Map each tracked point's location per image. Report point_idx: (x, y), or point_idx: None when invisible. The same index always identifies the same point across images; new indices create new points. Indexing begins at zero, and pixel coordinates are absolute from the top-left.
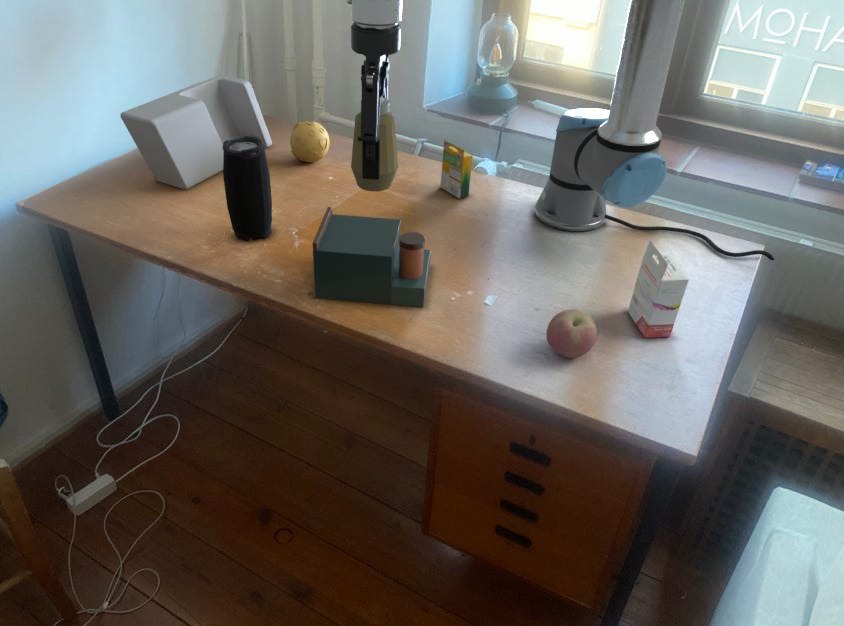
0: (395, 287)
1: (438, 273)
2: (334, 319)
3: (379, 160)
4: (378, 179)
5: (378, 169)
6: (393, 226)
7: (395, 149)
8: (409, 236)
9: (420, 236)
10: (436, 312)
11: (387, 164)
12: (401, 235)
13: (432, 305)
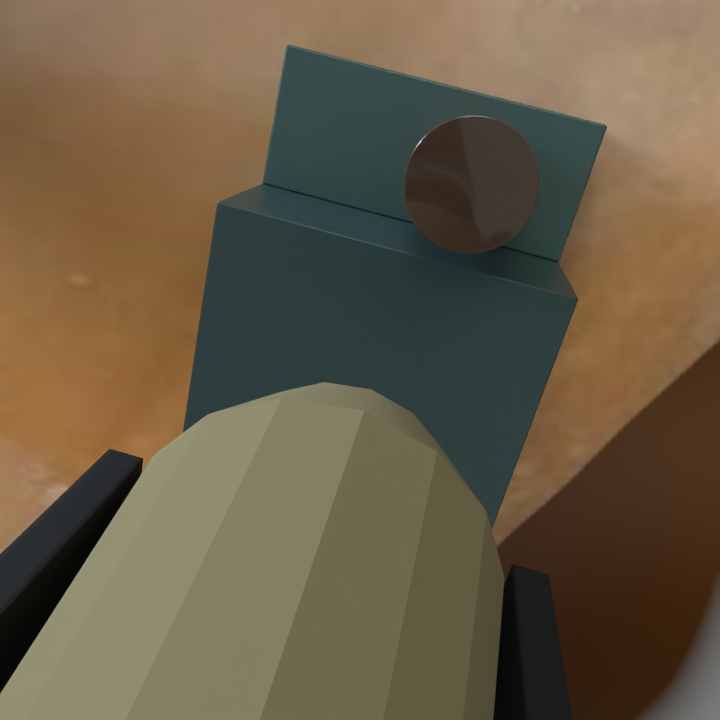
0: (564, 244)
1: (351, 17)
2: (601, 434)
3: (535, 686)
4: (546, 577)
5: (556, 640)
6: (288, 249)
7: (354, 542)
8: (451, 199)
9: (460, 139)
10: (636, 73)
11: (478, 564)
12: (437, 239)
13: (583, 82)
